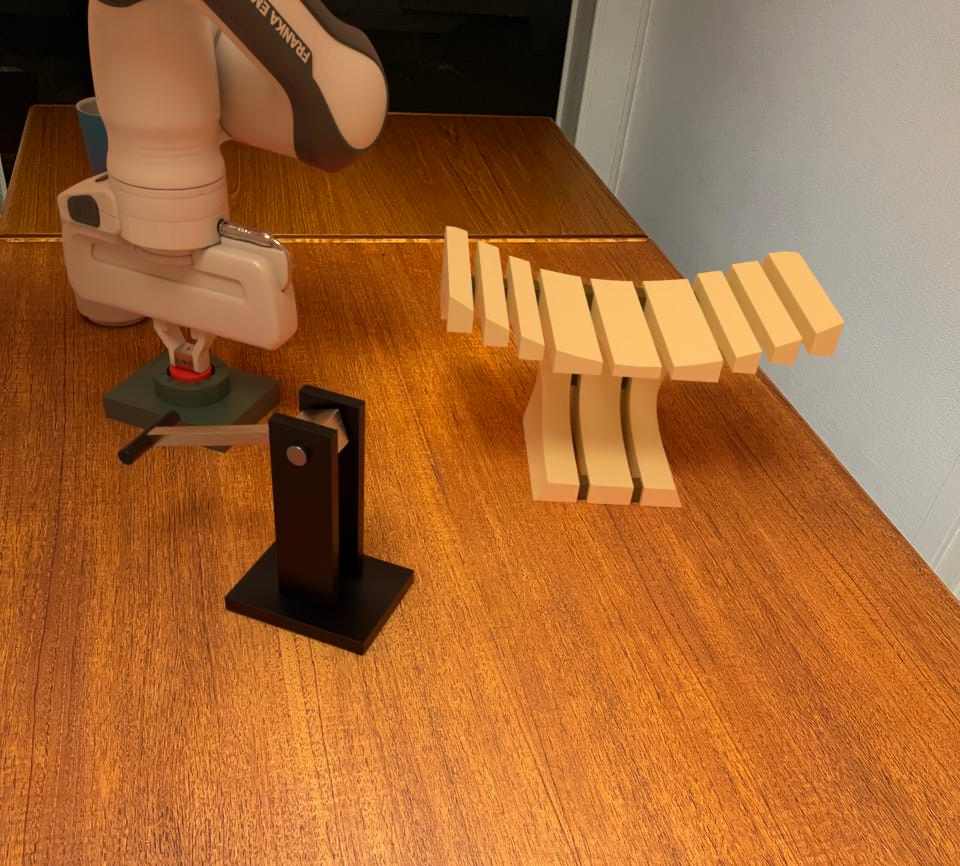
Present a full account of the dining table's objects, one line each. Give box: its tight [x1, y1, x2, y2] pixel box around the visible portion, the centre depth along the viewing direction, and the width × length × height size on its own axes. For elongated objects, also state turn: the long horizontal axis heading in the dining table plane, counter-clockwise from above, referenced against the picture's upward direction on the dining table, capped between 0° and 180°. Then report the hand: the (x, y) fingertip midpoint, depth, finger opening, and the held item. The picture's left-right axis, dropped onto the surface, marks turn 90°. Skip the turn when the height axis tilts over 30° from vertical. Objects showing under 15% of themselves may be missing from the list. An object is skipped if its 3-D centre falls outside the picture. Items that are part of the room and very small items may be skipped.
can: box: [59, 213, 146, 327], centre depth 100 cm, size 8×8×12 cm
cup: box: [75, 96, 108, 177], centre depth 110 cm, size 7×7×15 cm
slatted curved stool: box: [439, 225, 845, 509], centre depth 87 cm, size 30×16×18 cm, turn 92°
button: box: [170, 364, 212, 382], centre depth 90 cm, size 4×4×2 cm
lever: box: [117, 409, 349, 466], centre depth 68 cm, size 16×6×2 cm, turn 70°
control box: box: [101, 348, 282, 454], centre depth 91 cm, size 12×10×4 cm
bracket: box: [224, 383, 415, 656], centre depth 70 cm, size 11×9×16 cm
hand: (190, 367), depth 89 cm, fingers closed, pressing on button
